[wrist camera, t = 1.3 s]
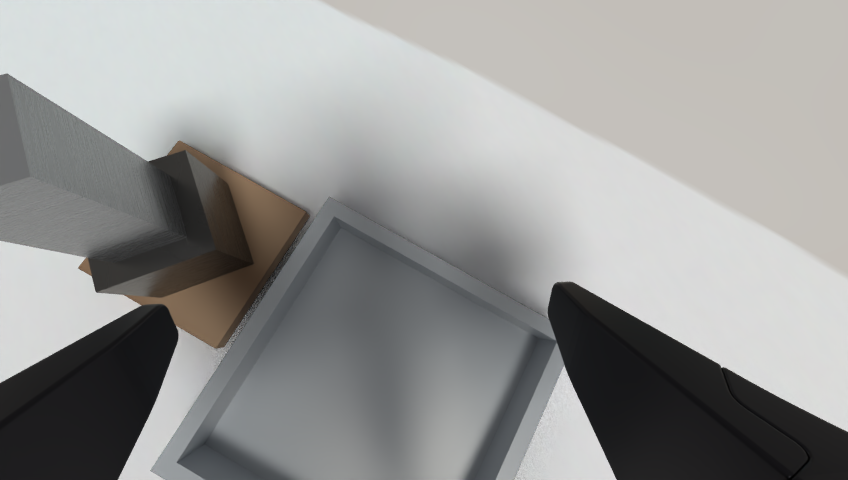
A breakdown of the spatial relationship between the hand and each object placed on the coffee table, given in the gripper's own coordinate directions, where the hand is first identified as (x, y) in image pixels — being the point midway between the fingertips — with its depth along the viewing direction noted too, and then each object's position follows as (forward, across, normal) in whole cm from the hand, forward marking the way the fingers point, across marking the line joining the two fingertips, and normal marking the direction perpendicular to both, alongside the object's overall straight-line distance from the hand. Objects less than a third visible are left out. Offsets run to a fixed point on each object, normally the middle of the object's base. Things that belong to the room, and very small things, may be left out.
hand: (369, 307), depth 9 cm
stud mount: (+14, +11, +6) cm, 18 cm away
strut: (+13, +11, +5) cm, 17 cm away
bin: (+8, 0, +12) cm, 14 cm away
